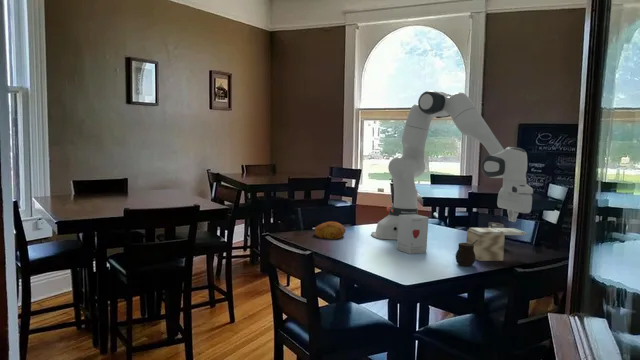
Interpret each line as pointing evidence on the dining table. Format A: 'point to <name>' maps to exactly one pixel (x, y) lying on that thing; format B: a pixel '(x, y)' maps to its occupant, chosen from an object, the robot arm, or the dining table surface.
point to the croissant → (330, 230)
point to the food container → (495, 225)
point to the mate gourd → (465, 254)
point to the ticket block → (487, 243)
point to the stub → (511, 231)
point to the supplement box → (412, 233)
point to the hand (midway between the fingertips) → (512, 221)
